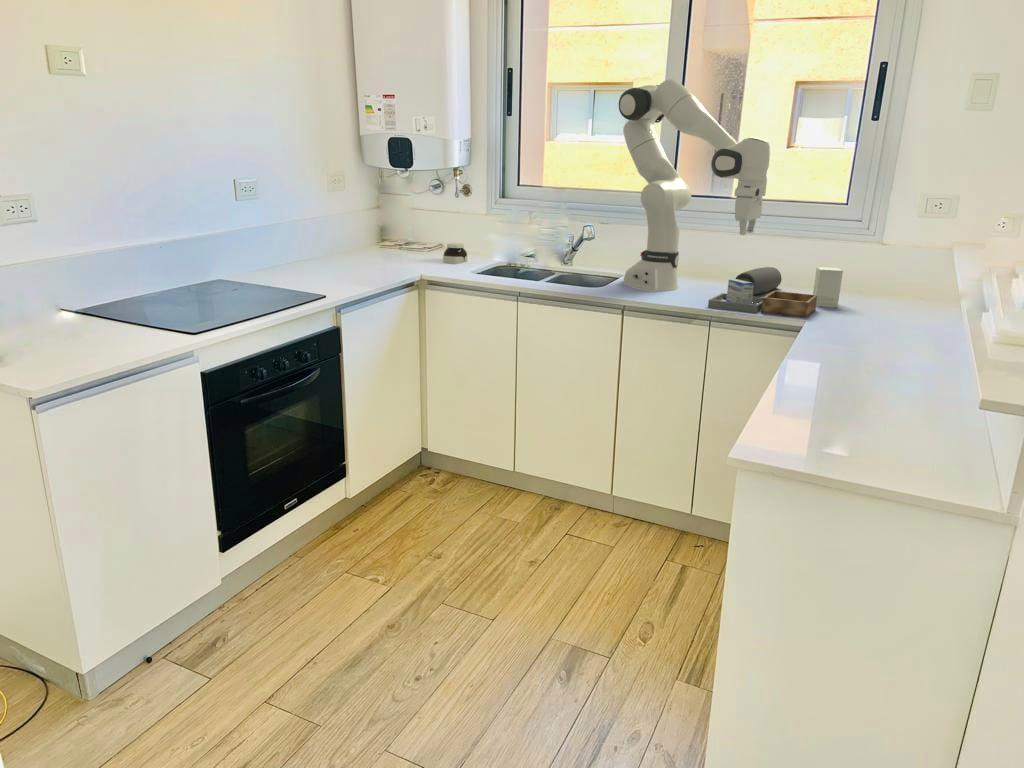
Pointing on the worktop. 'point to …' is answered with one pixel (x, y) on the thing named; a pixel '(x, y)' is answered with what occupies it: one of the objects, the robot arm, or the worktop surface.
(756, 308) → the tray
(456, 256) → the spread jar
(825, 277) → the supplement box
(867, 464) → the worktop surface
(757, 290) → the bluetooth speaker
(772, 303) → the walnut crate
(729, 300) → the medicine box
